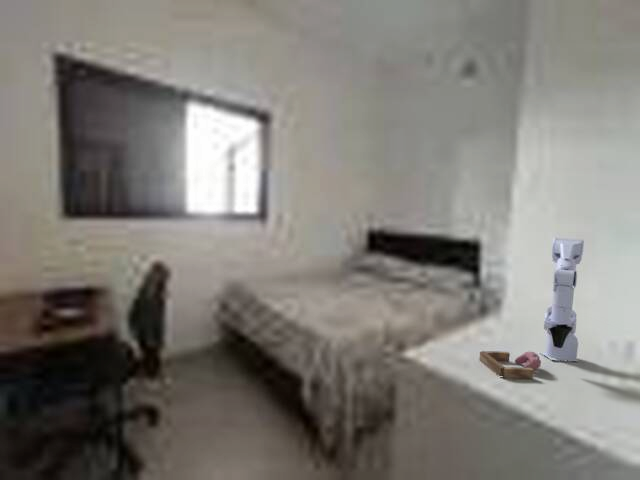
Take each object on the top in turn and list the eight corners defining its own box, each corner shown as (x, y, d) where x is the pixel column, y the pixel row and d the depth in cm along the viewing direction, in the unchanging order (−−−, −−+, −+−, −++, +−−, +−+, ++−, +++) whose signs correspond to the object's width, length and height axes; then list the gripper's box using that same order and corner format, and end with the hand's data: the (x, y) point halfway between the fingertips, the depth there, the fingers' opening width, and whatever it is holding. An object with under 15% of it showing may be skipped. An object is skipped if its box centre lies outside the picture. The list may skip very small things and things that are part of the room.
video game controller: (533, 380, 138) (546, 362, 136) (520, 372, 138) (532, 354, 137) (525, 368, 147) (537, 351, 146) (512, 361, 148) (524, 344, 147)
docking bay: (506, 360, 150) (507, 351, 150) (532, 379, 134) (533, 369, 134) (478, 359, 149) (479, 350, 149) (501, 378, 133) (502, 368, 133)
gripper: (562, 302, 148) (558, 340, 149) (537, 305, 141) (532, 345, 142) (584, 306, 142) (579, 347, 143) (558, 310, 135) (553, 352, 136)
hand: (557, 347), depth 142 cm, fingers closed
